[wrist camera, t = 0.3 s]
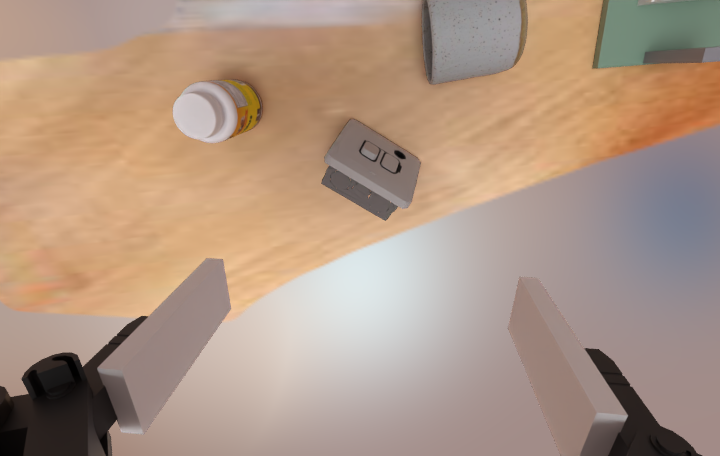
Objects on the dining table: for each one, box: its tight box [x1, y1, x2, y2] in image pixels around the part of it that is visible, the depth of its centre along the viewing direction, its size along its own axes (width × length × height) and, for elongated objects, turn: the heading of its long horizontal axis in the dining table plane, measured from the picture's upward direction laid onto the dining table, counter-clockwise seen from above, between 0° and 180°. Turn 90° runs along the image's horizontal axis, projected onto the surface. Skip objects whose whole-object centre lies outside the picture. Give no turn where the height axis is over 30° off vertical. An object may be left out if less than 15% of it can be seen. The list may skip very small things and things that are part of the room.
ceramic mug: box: [422, 0, 528, 84], centre depth 32 cm, size 11×8×8 cm
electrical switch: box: [321, 119, 421, 221], centre depth 38 cm, size 9×5×9 cm, turn 60°
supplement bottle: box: [173, 80, 262, 143], centre depth 36 cm, size 6×6×10 cm
